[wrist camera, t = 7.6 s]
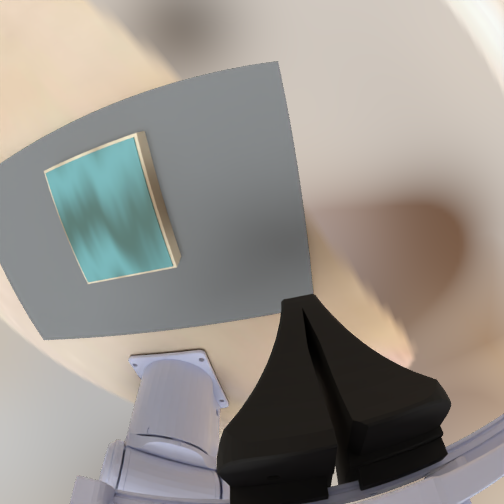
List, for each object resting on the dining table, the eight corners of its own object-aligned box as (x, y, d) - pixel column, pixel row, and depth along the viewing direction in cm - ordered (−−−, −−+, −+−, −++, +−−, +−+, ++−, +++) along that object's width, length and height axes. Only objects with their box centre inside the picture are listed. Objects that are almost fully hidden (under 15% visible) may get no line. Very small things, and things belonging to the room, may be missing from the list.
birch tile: (176, 268, 19) (87, 285, 19) (181, 256, 20) (95, 273, 21) (135, 132, 15) (42, 171, 15) (144, 130, 16) (55, 165, 17)
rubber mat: (313, 302, 23) (314, 306, 23) (45, 336, 25) (43, 339, 24) (276, 62, 15) (277, 61, 15) (-26, 183, 17) (-29, 184, 16)
